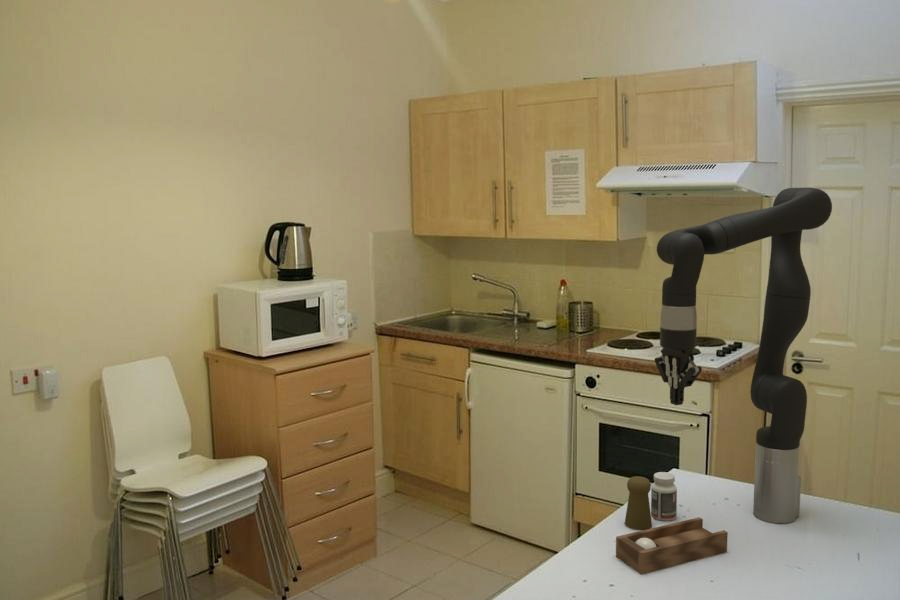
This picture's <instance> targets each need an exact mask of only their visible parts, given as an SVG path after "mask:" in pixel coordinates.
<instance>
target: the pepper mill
mask: <svg viewBox="0 0 900 600" xmlns="http://www.w3.org/2000/svg"><path fill="white" fill-rule="evenodd" d="M626 486H627V490H628V492H629V493H628V501H627V505H626V506H627V507H626V512H625V518H624V519H625V521H624V525H625V527H626V528H628V529H630V530H634V531H643V530H647V529H651V528H652V526H653V523H652V515H651V504H650V497H649V493H650V492H651V488H652V484H651V481H650V479H648V477H647V478H646V477H644V476H638V475H636V476H632V477H630V478H628V481H627V483H626Z"/></svg>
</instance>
